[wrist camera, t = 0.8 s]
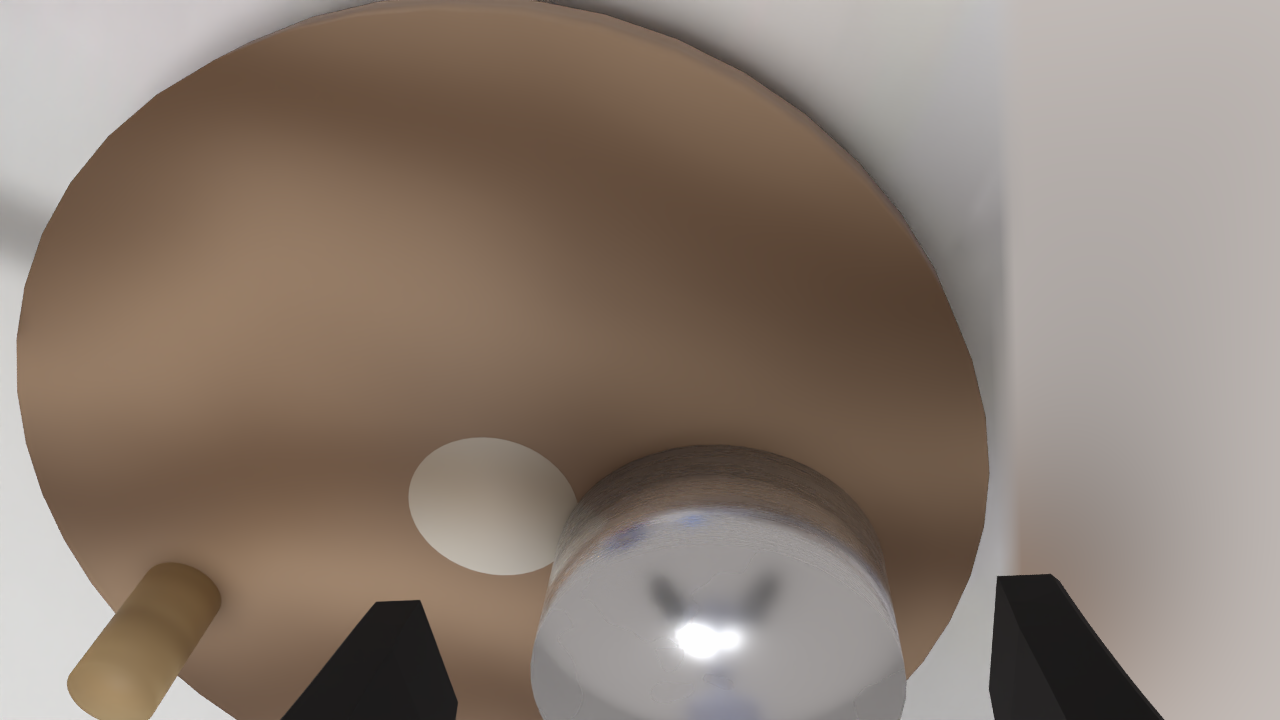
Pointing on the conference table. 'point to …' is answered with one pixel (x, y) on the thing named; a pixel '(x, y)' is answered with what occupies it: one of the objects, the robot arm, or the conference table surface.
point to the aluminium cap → (718, 597)
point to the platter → (460, 341)
